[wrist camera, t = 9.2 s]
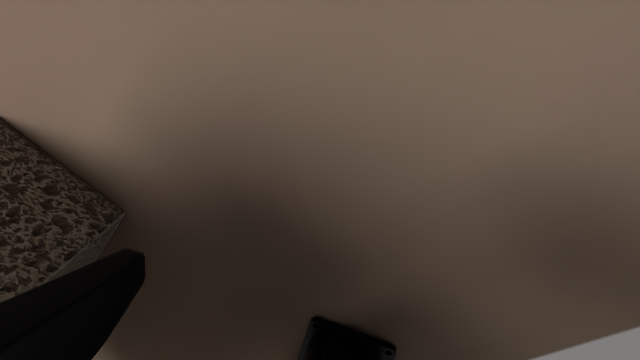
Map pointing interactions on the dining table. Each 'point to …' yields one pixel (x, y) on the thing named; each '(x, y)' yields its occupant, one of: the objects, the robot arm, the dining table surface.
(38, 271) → the lamp
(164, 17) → the dining table surface
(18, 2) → the dining table surface
